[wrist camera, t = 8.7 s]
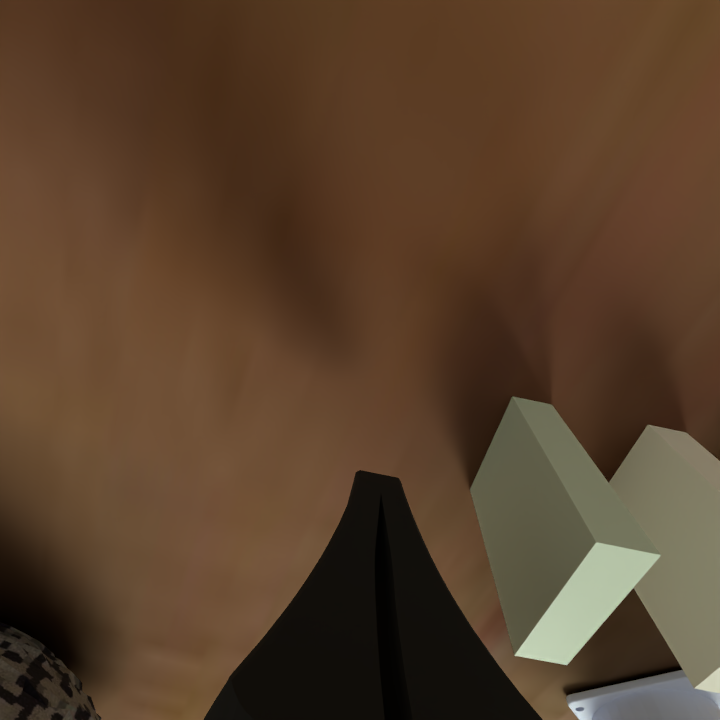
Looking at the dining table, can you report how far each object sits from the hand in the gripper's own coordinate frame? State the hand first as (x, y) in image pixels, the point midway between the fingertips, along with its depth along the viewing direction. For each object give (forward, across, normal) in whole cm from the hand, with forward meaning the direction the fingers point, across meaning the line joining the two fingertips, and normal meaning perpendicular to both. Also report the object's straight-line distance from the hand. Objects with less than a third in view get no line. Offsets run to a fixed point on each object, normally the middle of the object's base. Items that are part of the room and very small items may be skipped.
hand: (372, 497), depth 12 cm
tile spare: (+4, -6, 0) cm, 7 cm away
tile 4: (+4, -11, 0) cm, 12 cm away
